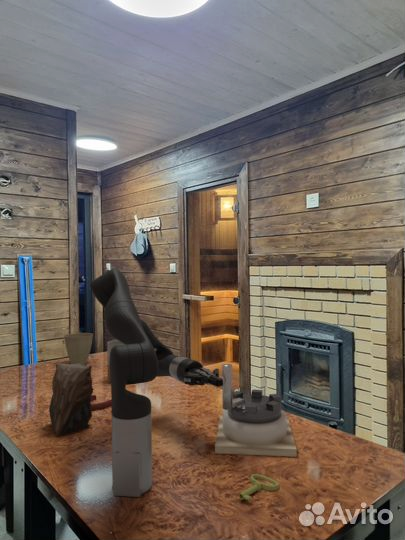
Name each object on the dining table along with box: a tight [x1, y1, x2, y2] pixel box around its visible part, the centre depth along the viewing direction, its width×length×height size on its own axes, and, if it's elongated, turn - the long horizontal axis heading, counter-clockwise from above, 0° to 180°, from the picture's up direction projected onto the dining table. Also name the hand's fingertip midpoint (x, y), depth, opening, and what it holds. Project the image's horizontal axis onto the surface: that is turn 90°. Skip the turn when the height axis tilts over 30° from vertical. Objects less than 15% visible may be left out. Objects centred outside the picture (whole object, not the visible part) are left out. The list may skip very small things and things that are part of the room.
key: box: [238, 473, 280, 502], centre depth 90 cm, size 7×12×2 cm, turn 157°
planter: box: [106, 339, 126, 383], centre depth 181 cm, size 13×13×18 cm
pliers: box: [90, 394, 112, 412], centre depth 143 cm, size 12×21×3 cm, turn 146°
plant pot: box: [63, 332, 94, 366], centre depth 212 cm, size 15×15×16 cm
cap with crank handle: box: [221, 363, 283, 424], centre depth 117 cm, size 16×21×17 cm
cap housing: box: [222, 409, 288, 445], centre depth 118 cm, size 19×19×5 cm
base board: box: [214, 415, 298, 458], centre depth 118 cm, size 22×22×2 cm
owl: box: [48, 362, 94, 438], centre depth 129 cm, size 13×13×20 cm
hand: (220, 382), depth 110 cm, fingers closed
